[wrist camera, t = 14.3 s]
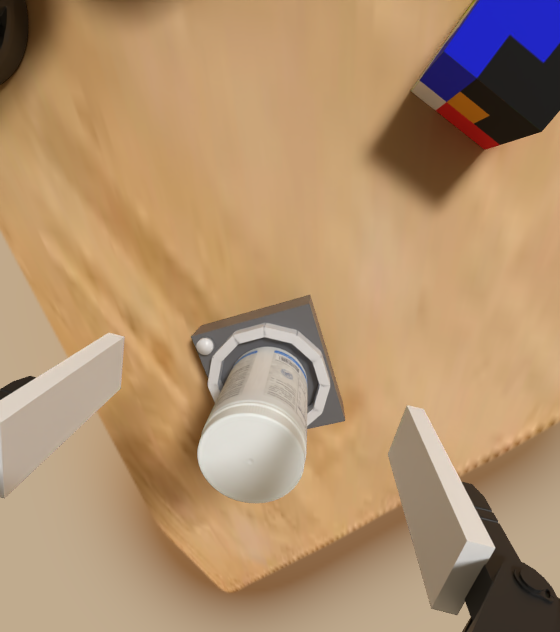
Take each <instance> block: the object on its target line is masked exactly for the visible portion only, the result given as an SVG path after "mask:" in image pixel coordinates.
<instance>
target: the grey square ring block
mask: <svg viewBox="0 0 560 632" xmlns="http://www.w3.org/2000/svg"><path fill="white" fill-rule="evenodd" d="M191 338H192V340H193V343H194V345H195V348H196V350H197V352H198V355H199V357H200V360H201V362H202V365H203V367H204V369H205V372H206V374H207V377H208V388H209V390H210V392H211V395H212V397H213V400H214V402H215V403H216V401H217V399H218V396H219V394H220V392H221V390H222V388H223V386H224V384H225V382H226V380H227V378H228V376H229V374H230V372H231V369H232V368H233V366H234V364H235V362H236V361H237V360H238V359H239V358H240V357H241V356H242V355H243V354H245V353H246V352H248V351H250V350H253V349H255V348H259V347H276V348H280V349H282V350H285V351H287V352H289V353H290V354H292V355H293V356H294V357H296V358H297V359H298V361H299V362H300V363H301V365H302V366H303V368H304V370H305V372H306V376H307V383H308V392H307V429H309V428H314V427H319V426H323V425H328V424H333V423H338V422H342V421H345V415H344V407H343V402H342V399H341V395H340V392H339V389H338V385H337V382H336V379H335V376H334V372H333V369H332V366H331V362H330V359H329V356H328V352H327V349H326V346H325V343H324V339H323V336H322V333H321V329H320V326H319V323H318V319H317V316H316V313H315V309H314V306H313V303H312V300H311V296H310V295H308V296H304V297H301V298H297V299H293V300H290V301H286V302H283V303H279V304H276V305H272V306H269V307H265V308H262V309H258V310H255V311H251V312H248V313H244V314H241V315H237V316H234V317H230V318H227V319H223V320H219V321H216V322H212V323H209V324H205V325H202V326H200V327H199V329H198V330H197V331H196V332H195V333H194V334H193V335H192V336H191Z"/></svg>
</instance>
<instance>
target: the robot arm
mask: <svg viewBox="0 0 560 632" xmlns="http://www.w3.org/2000/svg"><path fill="white" fill-rule="evenodd" d="M27 37H28V15H27V7H26V2H25V0H0V84H1V83H3V82H4V81H6V80H7V79H8V78H9V77H10V76H11V75H12V74H13V73H14V71H15V70H16V69H17V67H18V65H19V64H20V62H21V59H22V57H23V54H24V51H25V48H26V43H27ZM123 351H124V336H120V335H116V334H111V333H107V334H106V335H104V336H103V337H101V338H99V339H98V340H96V341H95V342H93V343H91V344H90V345H88V346H86V347H85V348H83V349H82V350H80V351H78V352H77V353H75V354H74V355H72V356H70V357H69V358H67V359H66V360H64V361H62V362H61V363H59V364H58V365H56V366H55V367H53V368H51V369H50V370H48V371H46V372H45V373H43V374H42V375H40V376H38V377H37V378H36V377H32V376H28V377H25V378H22V379H19V380H16V381H13V382H12V383H10V384H8V385H6V386H5V387H3V388H1V389H0V497H1V498H5V497H6V496H7V495H8V494H9V493H10V492H12V491H13V490H14V489H15V488H16V487H17V486H18V485H19V484H20V483H21V482H22V481H23V480H24V479H25V478H26V477H27V476H28V475H30V474H31V473H32V472H33V471H34V470H35V469H36V468H37V467H38V466H39V465H40V464H41V463H42V462H43V461H44V460H45V459H46V458H47V457H48V456H50V455H51V454H52V453H53V452H54V451H55V450H56V449H57V448H58V447H59V446H60V445H61V444H62V443H63V442H65V441H66V440H67V439H68V438H69V437H70V436H71V435H72V434H73V433H74V432H75V431H76V430H77V429H78V428H79V427H80V426H81V425H82V424H83V423H85V422H86V421H87V420H88V419H89V418H90V417H91V416H92V415H93V414H94V413H95V412H96V411H97V410H98V409H99V408H100V407H102V406H103V405H104V404H105V403H106V402H107V401H108V400H109V399H110V398H111V397H112V396H113V395H114V394H115V393H116V392H117V391H118V390H120V389H121V377H122V364H123ZM388 457H389V460H390V464H391V467H392V471H393V474H394V478H395V482H396V485H397V489H398V492H399V496H400V499H401V503H402V506H403V510H404V513H405V517H406V521H407V524H408V528H409V531H410V535H411V538H412V542H413V546H414V549H415V553H416V556H417V560H418V563H419V567H420V570H421V574H422V578H423V581H424V585H425V588H426V592H427V595H428V599H429V602H430V606H431V609H435V610H439V611H443V612H446V613H451V614H455V615H457V614H458V613H459V611H460V609H461V608H462V606H463V604H464V602H466V605H467V607H468V610H469V613H470V615H471V618H470V619H469V621H468V623H467V624H466V626H465V628H464V629H463V631H462V632H560V599H559V598H558V597H557V596H556V594H555V592H554V590H553V588H552V587H551V586H550V584H549V583H548V582H547V581H546V580H545V579H544V577H542V576H541V575H540V574H539V573H538V572H537V571H536V570H534V569H533V568H531V567H529V566H528V565H526V564H525V563H522V562H521V561H520V559H519V557H518V556H517V554H516V552H515V550H514V548H513V547H512V545H511V543H510V541H509V540H508V538H507V536H506V534H505V533H504V531H503V529H502V527H501V526H500V524H498V520H497V519H496V517H495V515H494V513H492V510H491V508H490V506H489V505H488V503H487V501H486V499H485V497H484V496H483V495H482V494H481V493H480V492H479V491H478V490H477V489H476V488H475V487H474V486H473V485H472V484H469V483H465V482H461V480H460V478H459V476H458V474H457V472H456V471H455V469H454V467H453V465H452V463H451V461H450V459H449V457H448V455H447V453H446V451H445V449H444V447H443V445H442V443H441V441H440V440H439V438H438V436H437V434H436V432H435V430H434V428H433V426H432V424H431V422H430V420H429V418H428V416H427V414H426V412H425V411H424V409H421V408H417V407H413V406H409V405H407V406H406V409H405V411H404V414H403V416H402V419H401V422H400V424H399V427H398V429H397V432H396V434H395V437H394V440H393V442H392V445H391V447H390V450H389V453H388Z"/></svg>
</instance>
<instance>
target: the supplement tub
mask: <svg viewBox="0 0 560 632" xmlns="http://www.w3.org/2000/svg"><path fill="white" fill-rule="evenodd" d="M307 392H308V383H307V376H306V372H305V370H304V368H303V366H302V365H301V363H300V362H299V361H298V359H297V358H296V357H294V356H293V355H292V354H290V353H289V352H287V351H285V350H282V349H280V348H276V347H259V348H255V349H253V350H250V351H248V352H246V353H245V354H243V355H242V356H241V357H240V358H239V359H238V360H237V361H236V362H235V364H234V366H233V368H232V369H231V372H230V374H229V376H228V378H227V380H226V382H225V384H224V386H223V388H222V390H221V392H220V394H219V396H218V399H217V401H216V403H215V405H214V407H213V409H212V411H211V413H210V415H209V417H208V419H207V422H206V424H205V426H204V429H203V431H202V434H201V438H200V441H199V445H198V450H197V458H198V463H199V467H200V469H201V472H202V474H203V475H204V477H205V478H206V480H207V481H208V482H209V483H210V484H211V485H212V486H213V487H214V488H215V489H216V490H217V491H219V492H220V493H222V494H223V495H225V496H227V497H229V498H231V499H234V500H237V501H241V502H246V503H265V502H270V501H274V500H277V499H279V498H281V497H283V496H285V495H286V494H288V493H289V492H290V491H291V490H293V489H294V487H295V486H296V485H297V484H298V482H299V480H300V479H301V476H302V474H303V470H304V463H305V459H306V445H307Z"/></svg>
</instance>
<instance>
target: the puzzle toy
mask: <svg viewBox="0 0 560 632" xmlns="http://www.w3.org/2000/svg"><path fill="white" fill-rule="evenodd" d="M411 92H413V93H414V94H415V95H416V96H418V97H419V98H420V99H421V100H423V101H424V102H425V103H426V104H428V105H429V106H430V107H431V108H433V109H434V110H435V111H437V112H438V113H439V114H440V115H442V116H443V117H444V118H445V119H447V120H448V121H449V122H450V123H452V124H453V125H454V126H455V127H457V128H458V129H459V130H460V131H462V132H463V133H464V134H465V135H467V136H468V137H469V138H471V139H472V140H473V141H474V142H476V143H477V144H478V145H479V146H481V147H482V148H483V149H484V150H485V149H489V148H492V147H495V146H498V145H501V144H504V143H507V142H511V141H514V140H517V139H520V138H523V137H526V136H529V135H533V134H536V133H539V132H542V131H543V130H544V128H545V127H546V126H547V125H548V124H549V123H550V121H551V120H552V119H553V118H554V117H555V115H556V114H557V113H558V112H559V111H560V0H474V1H473V2H472V4H471V5H470V6H469V8H468V9H467V11H466V12H465V14H464V15H463V16H462V18H461V19H460V21H459V22H458V24H457V25H456V26H455V28H454V29H453V31H452V32H451V34H450V35H449V36H448V38H447V39H446V41H445V42H444V44H443V45H442V46H441V48H440V49H439V51H438V52H437V54H436V55H435V56H434V58H433V59H432V61H431V62H430V64H429V65H428V66H427V68H426V69H425V71H424V72H423V74H422V75H421V76H420V78H419V79H418V81H417V82H416V84H415V85H414V86H413V88H412V89H411Z"/></svg>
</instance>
